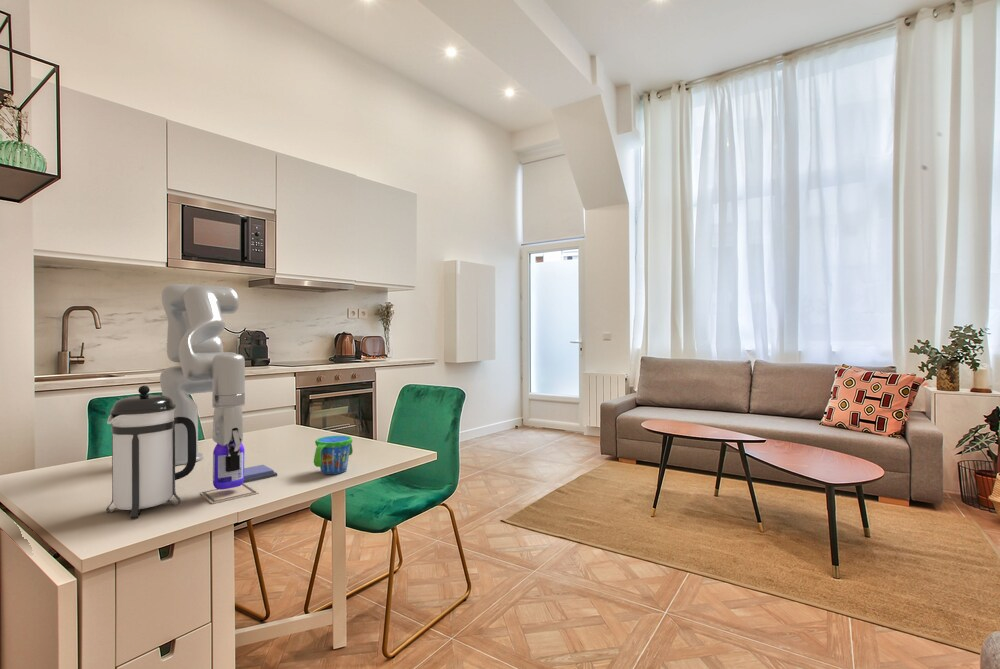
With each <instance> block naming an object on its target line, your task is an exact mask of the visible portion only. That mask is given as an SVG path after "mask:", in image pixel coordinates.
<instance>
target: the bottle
mask: <svg viewBox="0 0 1000 669" xmlns="http://www.w3.org/2000/svg"><path fill="white" fill-rule="evenodd" d="M229 444H234V443H233V442H229ZM232 447H233V446H232ZM232 447H230V450H231V448H232ZM226 456H227V449H226V445H225V446H221V445H219V444H218V443H216V445H215V447H214V449H213V452H212V484H213V486H214V489H219V490H222V489H229V488H234V487H238V486H241V485H242V484H243V481H244V468H245V446H244V444H243V441H242V442H241V446H240V469H239V470H236V471H231V472H226Z"/></svg>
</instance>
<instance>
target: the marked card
mask: <svg viewBox="0 0 1000 669" xmlns="http://www.w3.org/2000/svg"><path fill="white" fill-rule="evenodd" d="M257 494H259V491H257V490H255V489H254V488H252V486H249V485H248V484H246V482H245V483H242V485H241V486H238V487H234V488H229V489H222V490H219V489H216V488H214V489H210V490H206V491H201V492H199V495H200V496H202V497H203V498H204V497H205V498H204V499H206V501H208V502H209V503H210V502H211V503H212V504H211V503H210V504H211V505H215V504H217V503H218V502H219V503H223V502H227V501H226V500H228V501H231V499H232V500H236V499H235V498H237V499H239V498H240V497H241V498H245V497H249V496H254V495H257ZM241 498H240V499H241ZM222 501H223V502H222ZM214 503H215V504H214ZM219 503H218V504H219Z"/></svg>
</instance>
